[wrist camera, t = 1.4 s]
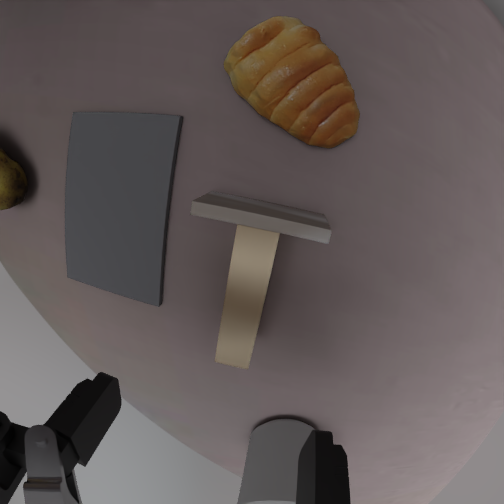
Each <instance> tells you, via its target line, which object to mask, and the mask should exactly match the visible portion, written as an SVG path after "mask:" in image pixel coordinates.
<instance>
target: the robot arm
mask: <svg viewBox="0 0 504 504" xmlns="http://www.w3.org/2000/svg"><path fill="white" fill-rule="evenodd" d="M120 408H121V395H120V388H119V382H118V379H117V378H115V377H113V376H110V375H108V374H105V373H103V372H100V373H98V375H97V376H96V377H95V378H94V379H93V381H92V380H89V379H86V380H84V381H82V382H80V383H78V384H77V385H76V386H75V388H74V389H73V390H72V391H71V394H69V395H68V396H67V397H66V399H65V400H64V401H63V402H62V403H61V405H60V406H59V407H58V408H57V409H56V411H55V412H54V413H53V415H52V416H51V417H50V418H49V420H48V421H47V422H46V423H45V424H43V425H35V426H32V427H31V428H28V427H25V426H21V425H18V424H15V423H12V422H10V420H9V419H8V417H7V416H6V414H4V413H2V412H0V504H8V503H9V501H10V499H11V497H12V496H13V494H14V492H15V490H16V489H17V487H18V485H19V483H20V482H21V480H22V478H23V477H24V475H25V473H26V472H27V482H24V485H23V490H24V497H25V504H82V501H81V498H80V494H79V490H78V486H77V481H76V476H75V472H74V467H75V465H76V464H77V463H79V464H81V465H83V466H86V465H87V463H88V461H89V460H90V458H91V457H92V455H93V453H94V452H95V450H96V448H97V447H98V445H99V444H100V442H101V440H102V439H103V437H104V435H105V434H106V432H107V431H108V429H109V427H110V426H111V424H112V423H113V421H114V420H115V418H116V416H117V415H118V413H119V411H120ZM347 467H348V462H347V455H346V453H345V451H344V449H343V447H342V446H341V445H334V444H333V435H332V432H330V431H320V430H312V431H311V433H310V435H309V437H308V438H307V440H306V442H305V443H304V445H303V447H302V449H301V451H300V454H299V459H298V474H297V491H296V504H350V488H349V477H348V475H349V474H348V468H347Z"/></svg>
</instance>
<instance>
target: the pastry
mask: <svg viewBox="0 0 504 504" xmlns="http://www.w3.org/2000/svg"><path fill="white" fill-rule="evenodd" d="M224 69H225V70H226V72H227V73H228V75H229V76H230V79H231V83H232V85H233V87H234V90H235V91H236V92H237V94H238V95H240V96H241V97H242V98H244V99H245V100H246V101H247V102H248V103H249V104H250V105H251V106H252V107H253V108H254V109H255V110H256V111H257V113H259V114H260V115H261V116H263V117H265V118H267V119H268V120H269V121H271V122H272V123H275V124H277V125H278V126H280V127H281V128H283V129H284V130H286V131H287V132H288V133H290V134H291V135H292V136H294V137H296V138H298V139H299V140H301V141H303V142H305V143H306V144H308V145H313V146H319V147H324V148H333V147H335V146H337V145H339V144H341V143H342V142H344V141H345V140H347V139H349V138H350V137H352V136H353V135H354V134H356V132H357V128H358V120H359V115H360V113H359V110H358V108H357V104H356V102H355V99H354V90H353V89H352V87H351V84H350V82H349V81H348V79H347V75H346V73H345V71H344V69H343V68H342V67H341V65H340V62H339V59H338V56H337V55H336V54H335V53H334V52H333V51H331V50H330V49H328V47H327V46H326V45H325V44H323V43H322V42H321V40H320V35H319V33H318V31H317V30H315V29H314V28H311V27H308V26H305V25H303V24H302V22H301V21H300V20H299V19H297V18H293V17H287V16H283V17H282V16H276V17H272V18H270V19H268V20H266V21H264V22H262V23H260V24H258V25H256V26H255V27H253V28H252V29H250V30H248V31H247V32H246V33H245V34H244V35H243V37H242V38H241V39H240V40H239V41H237V42H236V43H235V44H234V45H233V46H232V48H231V49H230V51H229V52H228V54H227V57H226V59H225V61H224Z"/></svg>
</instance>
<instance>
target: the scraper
mask: <svg viewBox="0 0 504 504" xmlns="http://www.w3.org/2000/svg"><path fill="white" fill-rule="evenodd" d="M190 215H195V216H200V217H205V218H210V219H215V220H220V221H225V222H230V223H235V224H237V229H236V235H235V241H234V246H233V252H232V258H231V264H230V270H229V276H228V282H227V288H226V294H225V300H224V306H223V312H222V318H221V324H220V331H219V337H218V343H217V350H216V356H215V362H218V363H222V364H226V365H230V366H234V367H239V368H243V369H248V367H249V363H250V359H251V355H252V351H253V347H254V343H255V339H256V335H257V330H258V326H259V322H260V318H261V314H262V309H263V305H264V301H265V296H266V292H267V288H268V284H269V279H270V275H271V270H272V266H273V262H274V257H275V253H276V248H277V244H278V239H279V235H280V233H281V234H286V235H291V236H295V237H300V238H304V239H309V240H313V241H317V242H322V243H326V244H328V243H329V240H330V236H331V232H332V230H331V228H330V226H329V224H328V222H327V220H326V218H325V216H324V215H323V214H319V213H314V212H310V211H306V210H301V209H297V208H292V207H288V206H283V205H279V204H274V203H269V202H264V201H260V200H255V199H250V198H245V197H240V196H235V195H230V194H224V193H219V192H214V191H211V192H209V193H207V194H205V195H203V196H201V197H199V198H197V199H195V200H193V201H192V206H191V213H190Z"/></svg>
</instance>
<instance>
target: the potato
mask: <svg viewBox="0 0 504 504" xmlns="http://www.w3.org/2000/svg"><path fill="white" fill-rule="evenodd" d="M27 188H28V183H27V178H26V175H25V172H24V170H23V168H22V167H21V166H20V165H19V164H18V162H16V161H13V160H11V159H10V158H9V157H8V156H7V155H6V152H5V151H4V150H3V149H1V148H0V210H4V209H9V208H11V207H13V206H15V205H18V204H20V203H21V202H22V201H23V199H24V197H25V195H26V192H27Z"/></svg>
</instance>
